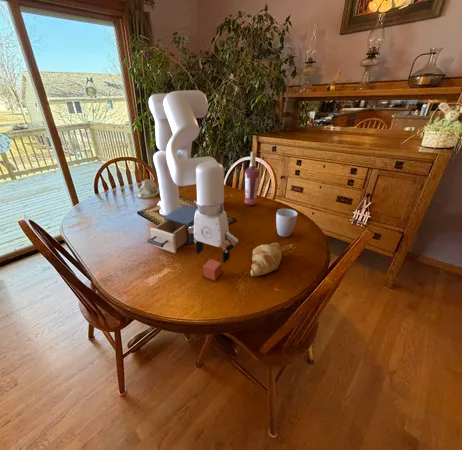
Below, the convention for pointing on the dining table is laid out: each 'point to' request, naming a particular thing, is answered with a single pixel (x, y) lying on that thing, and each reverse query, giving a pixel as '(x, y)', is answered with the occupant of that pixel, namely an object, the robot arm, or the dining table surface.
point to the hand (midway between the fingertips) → (212, 256)
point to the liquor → (251, 182)
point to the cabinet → (183, 217)
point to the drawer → (169, 235)
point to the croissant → (266, 258)
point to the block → (212, 269)
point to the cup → (285, 221)
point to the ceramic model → (148, 189)
